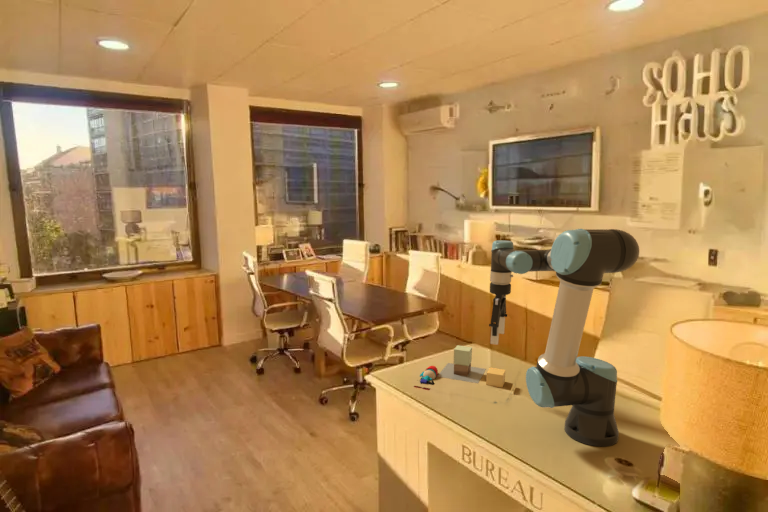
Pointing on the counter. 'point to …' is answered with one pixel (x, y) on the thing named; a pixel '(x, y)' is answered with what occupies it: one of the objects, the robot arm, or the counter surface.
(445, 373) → the baseplate
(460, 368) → the brown brick
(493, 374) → the ochre brick
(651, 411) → the counter surface
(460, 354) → the sage brick
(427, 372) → the toy figure
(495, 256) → the robot arm
